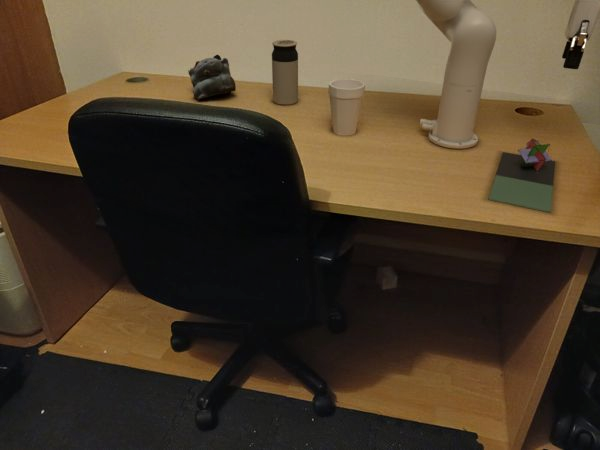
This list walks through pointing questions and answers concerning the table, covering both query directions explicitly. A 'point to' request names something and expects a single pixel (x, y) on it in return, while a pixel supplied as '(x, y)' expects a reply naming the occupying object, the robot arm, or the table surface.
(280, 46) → the travel mug
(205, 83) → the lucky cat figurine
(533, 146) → the geometric puzzle
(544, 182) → the desk pad
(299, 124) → the table surface
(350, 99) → the foam cup
